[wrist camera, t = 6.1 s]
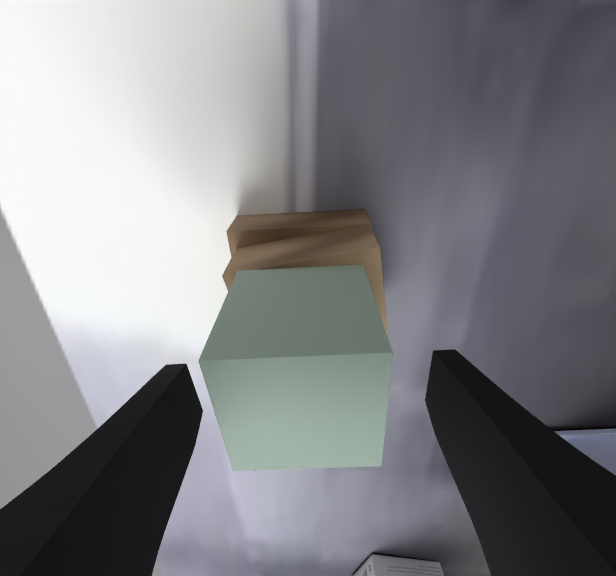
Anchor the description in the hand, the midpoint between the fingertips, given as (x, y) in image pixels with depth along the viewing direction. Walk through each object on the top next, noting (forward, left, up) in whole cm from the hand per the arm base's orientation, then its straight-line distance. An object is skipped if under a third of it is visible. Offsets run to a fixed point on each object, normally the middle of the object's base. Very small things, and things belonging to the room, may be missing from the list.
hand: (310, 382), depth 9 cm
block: (0, 0, -3) cm, 3 cm away
